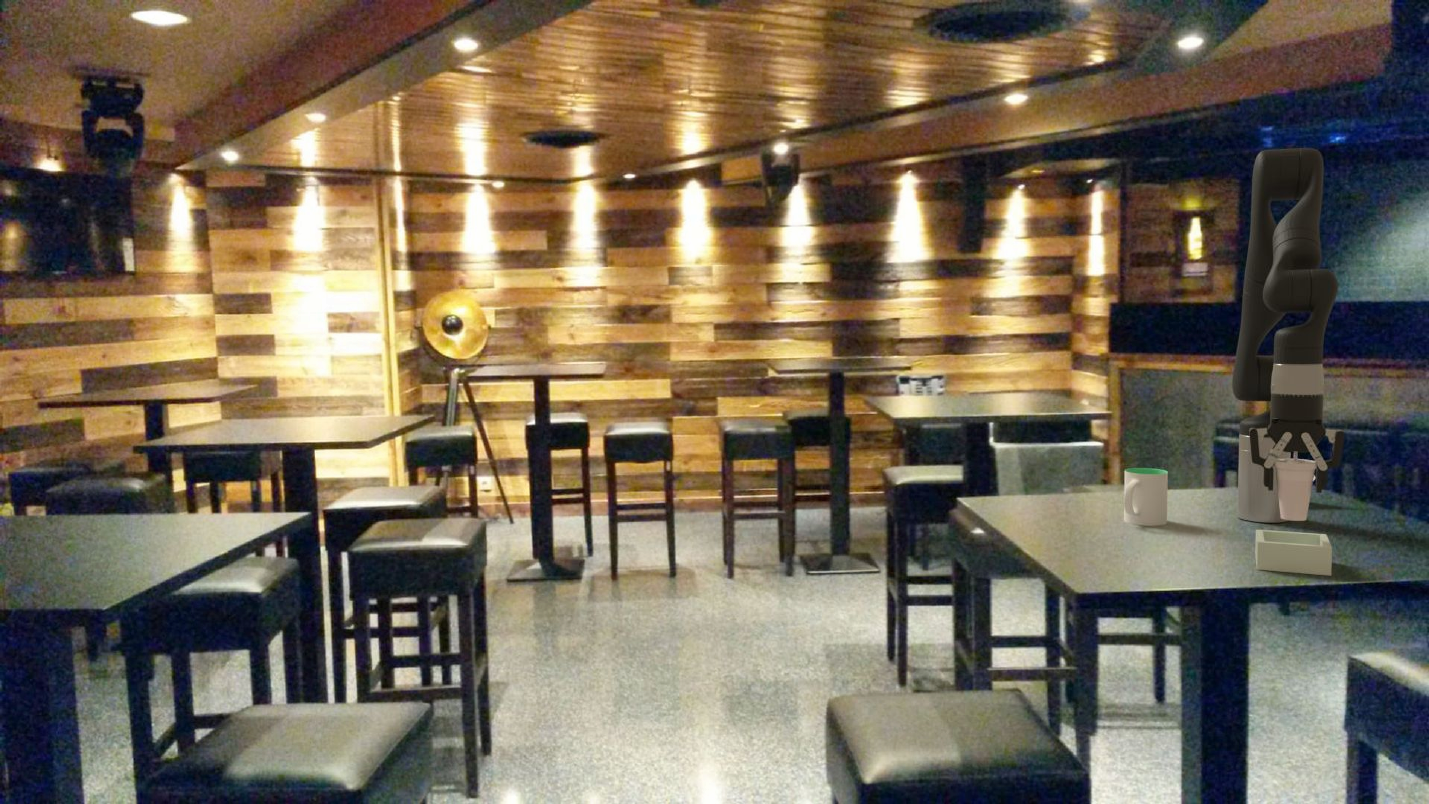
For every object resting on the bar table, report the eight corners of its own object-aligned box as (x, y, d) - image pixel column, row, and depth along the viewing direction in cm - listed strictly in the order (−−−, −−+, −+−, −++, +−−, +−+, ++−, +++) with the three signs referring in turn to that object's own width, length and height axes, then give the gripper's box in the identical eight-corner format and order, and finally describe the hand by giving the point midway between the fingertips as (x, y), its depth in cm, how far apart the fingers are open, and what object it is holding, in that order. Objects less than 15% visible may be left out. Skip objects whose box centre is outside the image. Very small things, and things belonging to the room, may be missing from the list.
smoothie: (1316, 517, 169) (1319, 434, 168) (1315, 523, 164) (1318, 438, 163) (1272, 513, 173) (1275, 432, 172) (1270, 520, 167) (1272, 436, 166)
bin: (1255, 555, 176) (1255, 529, 176) (1325, 560, 171) (1326, 534, 171) (1257, 569, 167) (1257, 542, 166) (1331, 575, 162) (1332, 547, 162)
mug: (1149, 530, 197) (1150, 478, 196) (1109, 525, 203) (1110, 474, 202) (1173, 521, 206) (1174, 470, 205) (1133, 516, 211) (1134, 466, 210)
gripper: (1345, 390, 167) (1342, 490, 168) (1247, 388, 173) (1244, 485, 174) (1350, 393, 160) (1347, 497, 161) (1248, 392, 166) (1245, 492, 168)
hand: (1294, 490), depth 168 cm, fingers closed on smoothie, 6 cm apart
